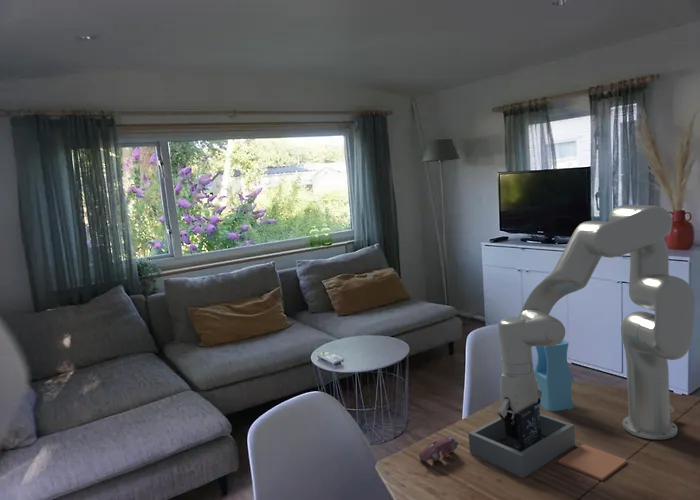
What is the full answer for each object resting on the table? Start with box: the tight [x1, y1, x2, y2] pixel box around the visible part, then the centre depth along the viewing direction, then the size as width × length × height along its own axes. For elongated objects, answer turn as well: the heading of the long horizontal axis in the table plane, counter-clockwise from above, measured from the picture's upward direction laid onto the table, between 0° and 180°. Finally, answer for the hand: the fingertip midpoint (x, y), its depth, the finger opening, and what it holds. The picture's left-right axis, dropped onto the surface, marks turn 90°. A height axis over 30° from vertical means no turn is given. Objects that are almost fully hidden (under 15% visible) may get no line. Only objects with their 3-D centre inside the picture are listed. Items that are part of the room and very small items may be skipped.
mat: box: [557, 443, 628, 481], centre depth 123 cm, size 11×11×1 cm
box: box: [504, 403, 543, 452], centre depth 132 cm, size 8×6×11 cm
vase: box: [534, 339, 575, 412], centre depth 154 cm, size 8×8×20 cm
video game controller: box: [418, 435, 459, 462], centre depth 132 cm, size 10×5×7 cm, turn 118°
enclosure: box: [468, 412, 576, 479], centre depth 132 cm, size 21×16×6 cm
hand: (523, 430), depth 132 cm, fingers closed on box, 8 cm apart
